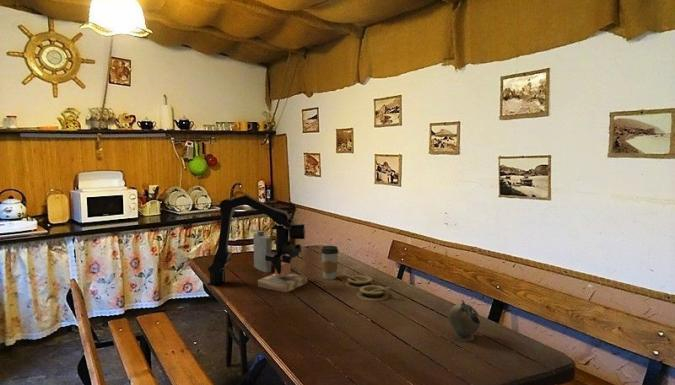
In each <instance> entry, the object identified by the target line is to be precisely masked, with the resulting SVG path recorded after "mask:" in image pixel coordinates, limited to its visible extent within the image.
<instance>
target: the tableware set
mask: <svg viewBox="0 0 675 385" xmlns="http://www.w3.org/2000/svg"><path fill="white" fill-rule="evenodd" d="M341 275H343V276H344V277H347V278H346V280H347V281H346V282H345V283H344V284H345V286H346V287H347V288H350V289H351V288H352V289H356V290H357V289H358V290H359V291H358V292H356V296H357V297H358V298H359V299H360V300H364V301H370V302H371V301H372V302H376V301H377V302H378V301H383V300H386V299H388V298H389V293H388V292H387V290H390V289H392V287H391V286H386V287H384V286H382V285H381V286H380V285H375V284H374V282H373V278H372V277H371V276H368V275H363V274H362V275H361V274H359V275H358V274H357V275H356V274H355V275H351V274H347V273H346V272H344V271H342V272H341ZM397 298H398V299H400V297H399V296H398V297H397Z"/></svg>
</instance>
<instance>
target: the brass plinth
mask: <svg viewBox="0 0 675 385" xmlns="http://www.w3.org/2000/svg"><path fill="white" fill-rule="evenodd" d="M307 283H308V276H306V275H300V274H295V273H294V274H293V273H290V275H287V276H285V277H282V276H277V275H275V273H273V274H270V275H267V276H265V277H262V278H260V279H258V280H257V287H258V288H264V289H267V290H268V289H269V290H274V291H278V292H284V293H288V292H290V291H293V290H295V289H297V288H298V287H301V286H304V285H306V284H307Z"/></svg>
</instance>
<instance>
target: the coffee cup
mask: <svg viewBox="0 0 675 385" xmlns="http://www.w3.org/2000/svg"><path fill="white" fill-rule="evenodd" d="M320 250H321V252H320V253H321V267H322V268H321V269H322V277H323V279H324V280H328V281H330V280H331V281H332V280H335V279H337V270H338V258H339V248H338V247H337V246H335V245H323V246H322V247H321V249H320Z"/></svg>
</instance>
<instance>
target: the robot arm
mask: <svg viewBox="0 0 675 385" xmlns="http://www.w3.org/2000/svg"><path fill="white" fill-rule="evenodd" d="M242 205H246V206H247V207H250V208H251V209H253V210H255V211H258V212H260V213H262V214H263V215H266V216H267V217H269V219H271V221H273V222H274V223H275V224H274V225H273V226H272V227H271V230H275V241H273V243H274V244H273V245H275V246H276V247H275V249H274V251H273V252H271V253H269V254H266V255H265V260H266V261H271V264H272V265H273V266H274V270H275V269H276V271H277V273H278V274H280V273H281V263H282V262H285V263H290V264H291V261H292V259H293V258H296V257H299V255H300V253H301V252H302V245H301V244H299V243H297V244H296V245H295V244H292V240H306V226H305V223H298V224H294V222H293V221H292V219H291V218H290V215H289V212H287V211H286V210H283V209H280V208H276V207H272V206H270V205H269V204H266V203H265V202H262V201H260V200H258V199H256V198H255V197H253V196H251V195H250V194H243V195H241V196H238V197H235V198H232V197H228V198H225V199H223V200H222V201H220V204H219V212H220V216H221V219H220V220H221V222H220V229H219V236H218V237H219V238H218V245H217V249H216V252H215V253H214V257H213V261H212V263H211V265H209V267H207V270H208V272H209V281H208V282H207V285H211V286H216V287H219V286H222V285H224V284H227V283H228V281H227V280H226V272H225V268H226V266H227V265H228V264H229V263H230V261H231V260H232V259H231V256H232V251H229V248H228V247H229V240H230V233H231V226H232V225H231V224H232V218H233V216H234V213H235V210H236V208H237V207H240V206H242ZM290 238H291V240H290Z"/></svg>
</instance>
